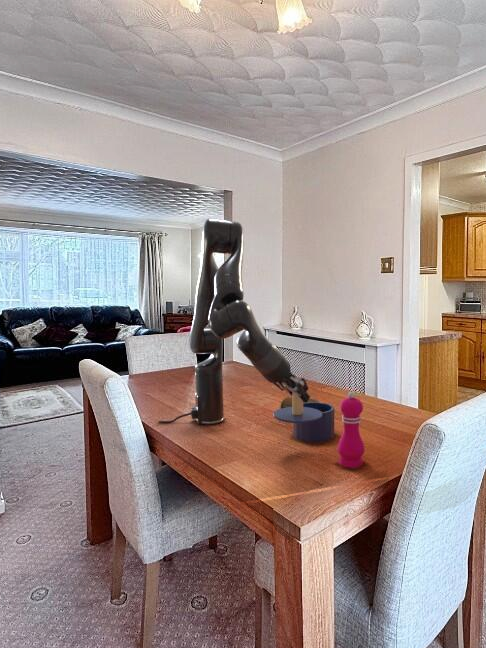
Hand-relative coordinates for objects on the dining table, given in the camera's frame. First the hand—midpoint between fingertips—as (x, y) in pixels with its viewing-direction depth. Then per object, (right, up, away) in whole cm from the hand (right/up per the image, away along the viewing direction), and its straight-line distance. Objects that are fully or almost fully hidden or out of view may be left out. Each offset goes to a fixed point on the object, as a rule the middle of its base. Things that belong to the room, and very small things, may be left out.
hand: (302, 398), depth 128 cm
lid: (-1, -5, -1) cm, 5 cm away
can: (+3, -14, +16) cm, 22 cm away
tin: (-1, -12, +33) cm, 35 cm away
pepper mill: (+13, -17, -6) cm, 22 cm away
